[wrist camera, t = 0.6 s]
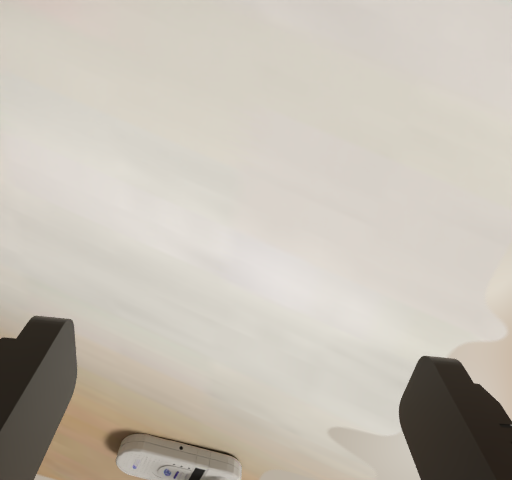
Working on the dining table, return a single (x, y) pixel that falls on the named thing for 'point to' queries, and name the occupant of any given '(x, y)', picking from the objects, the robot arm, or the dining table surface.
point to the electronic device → (173, 460)
